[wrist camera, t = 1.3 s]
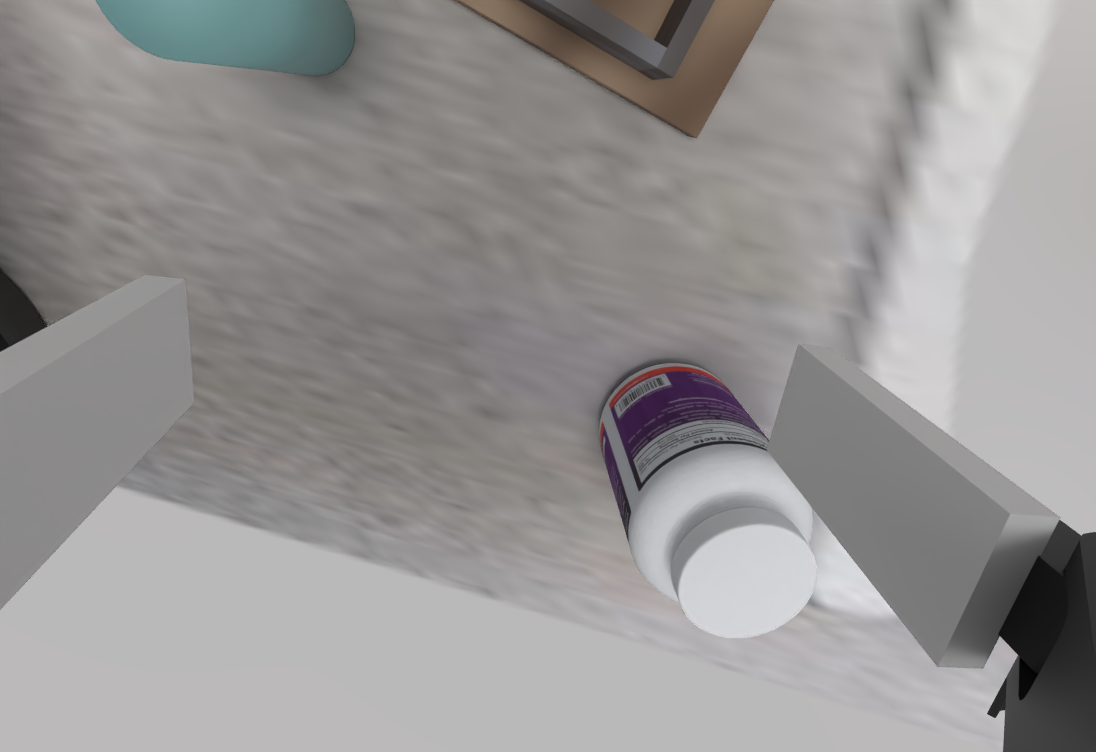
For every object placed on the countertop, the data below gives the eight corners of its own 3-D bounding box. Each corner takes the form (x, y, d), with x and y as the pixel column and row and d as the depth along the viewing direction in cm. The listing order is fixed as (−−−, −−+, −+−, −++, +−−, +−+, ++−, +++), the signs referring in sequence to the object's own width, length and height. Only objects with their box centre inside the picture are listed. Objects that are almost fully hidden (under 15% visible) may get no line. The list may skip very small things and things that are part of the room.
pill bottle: (699, 492, 41) (794, 680, 28) (577, 461, 40) (616, 644, 26) (754, 376, 38) (889, 525, 25) (624, 338, 37) (694, 475, 24)
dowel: (251, 47, 30) (67, 12, 17) (280, -43, 29) (105, -155, 16) (336, 91, 31) (221, 89, 18) (368, 5, 30) (268, -63, 17)
